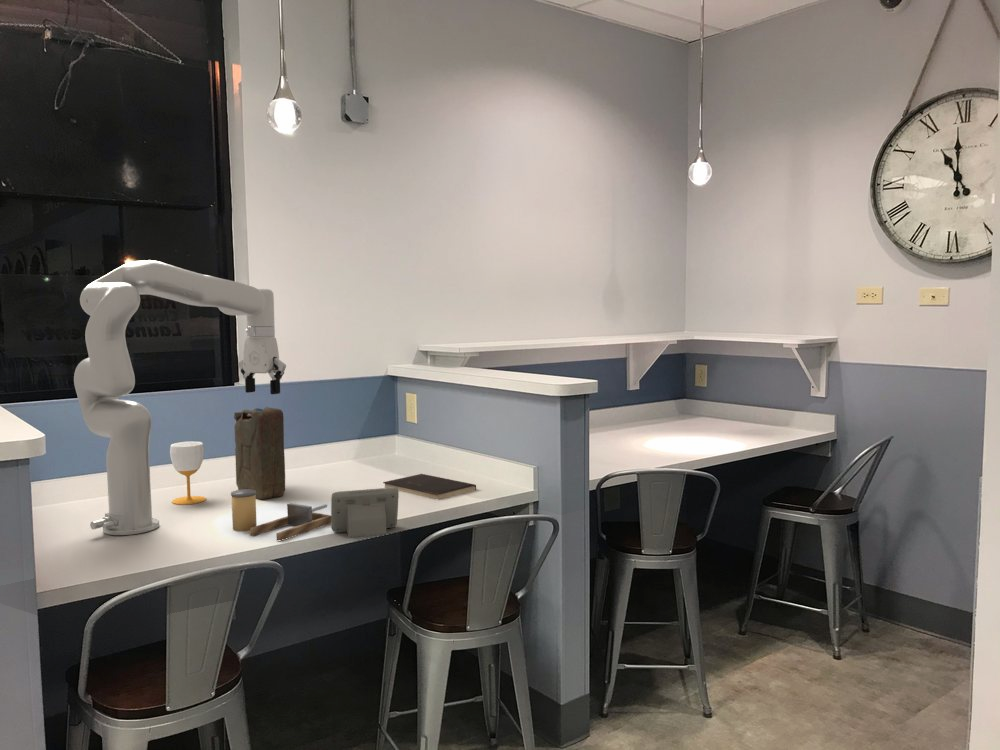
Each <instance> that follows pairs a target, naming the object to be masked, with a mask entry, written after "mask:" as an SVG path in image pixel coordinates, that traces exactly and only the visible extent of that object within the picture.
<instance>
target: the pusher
mask: <svg viewBox="0 0 1000 750" xmlns="http://www.w3.org/2000/svg"><path fill="white" fill-rule="evenodd" d="M286 506H287V507H286V509H287V512H286V513H287V516H288V525H290V526H291V525H292V526H299V525H302V524H305V523H308V522H311V521H312V512H313V513H316V512H317V511H321V510H324V509H326V508H328V504H327V503H326V504H322V505H318V506H316V507H313V506H311V505H304V504H300V503H299V504H298V503H292V502H290V503H287V505H286Z"/></svg>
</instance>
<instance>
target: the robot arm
mask: <svg viewBox="0 0 1000 750" xmlns="http://www.w3.org/2000/svg"><path fill="white" fill-rule="evenodd" d="M141 295H143V296H144V295H150V296H153V297H154V296H155V297H159V298H163V299H166V300H171V301H174V302H179V303H181V304H185V305H189V306H196V307H205V308H206V307H211V308H212V307H213V308H218V309H219V311H220V312H222V313H223V314H225V315H228V316H246V329H245V332H246V337H245V338H244V344H243V355H242V356H243V357H242V360H241V361H240V362H238V366H239V369H240V373H241V374H242V377H243V379H244V384H245V386H244V388H245V389H244V390H245V393H254V392H256V379H255V377H254V376H255V375H256V374H268V375H269V377H270V381H269V385H270V391H269V392H270V395H277V394H278V395H279V394H281V380H282V378H283V375H284V374H285V370H286V368H287V364H286V363H284V362H283V361H282V360H280V354H279V345H278V341H277V337H276V334H275V333H276V327H275V298H274V297H275V296H274V292H273V290H272V289H269V288H268V289H267V288H256V287H255V286H251V285H248V284H245V283H242V282H238V281H235V280H230V279H226V278H220V277H216V276H213V275H208V274H202V273H200V272H199V273H198V272H196V271H192V270H188V269H184V268H182V267H178V266H175V265H172V264H168V263H165V262H162V261H158V260H151V259H148V260H135V261H129V262H126V263H125V264H122V265H121V266H119V267H117V268H115V269H113V270H112V271H110V272H108V273H107V274H105V275H103V276H101V277H100V278H98V279H95V280H94V281H92V282H91V283H89V284H87V285H86V286H85V287H84V288H83V289H82V291H81V293H80V297H79V304H80V306H81V309H82V310H83V312H85V313H86V314H87V315H88V316H89V319H88V321H87V324H86V327H85V334H84V336H85V345H86V349H87V354H88V357H87V358H84V359H82V360H81V361H80V362H79V363H78V364H77V366H76V367H75V371H74V373H73V375H74V376H73V383H74V384H73V385H74V388H75V393H76V395H77V400H78V403H79V407H80V410H81V413H82V414H81V415H82V417H83V418H82V419H83V421H84V423H85V425H86V427H87V428H88V429H89V431H90V432H91V433H93V434H94V435H96V436H99V437H102V438H103V437H104V438H110V440H109V443H108V447H107V450H106V455H105V456H106V457H105V459H106V462H105V463H106V475H107V476H106V477H107V479H106V480H107V495H108V496H107V498H108V512H106V513H104V517H103V518H102V519H96V520H93V521H91V522H90V524H89V526H90V528H91V530H93V531H94V530H97V529H101V528H102V532H103V533H104V534H106V535H109V536H110V535H112V536H129V535H137V534H143V533H148V532H151V531H153V530H155V529H157V528H158V527H159V526H160V520H158V519H157V518H155V517H153V509H152V488H151V487H152V486H151V469H150V468H151V466H150V438H151V431H152V423H153V421H152V415H151V413H150V411H149V410H148V409H147V407H146V406H144V405H143V404H141V403H140V402H137V401H134V400H129V399H128V400H127V399H119V398H120V397H124V396H127V395H128V394H130V393H131V392H132V391H133V390H134V388H135V386H136V385H135V384H136V378H135V377H136V376H135V373H134V368H133V366H132V365H133V364H132V361H131V357H130V353H129V350H128V346H127V341H126V330H127V326H128V325H129V322H130V320H131V319H132V317H133V315H134V314H135V313H136V312H137V311H138V309H139V307H140V303H141Z"/></svg>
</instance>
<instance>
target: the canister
mask: <svg viewBox="0 0 1000 750" xmlns="http://www.w3.org/2000/svg"><path fill="white" fill-rule="evenodd" d="M233 415H234V417H233V418H234V420H235V423H234V442H235V444H234V445H235V449H234V452H235V456H234V457H235V484H236V487H237V490H243V489H251V490H255V491H256V494H255V495H256V500H257V499H258V500H267V499H268V500H269V499H273V498H278V497H283V496H284V494H285V491H286V460H285V459H286V458H285V438H284V437H285V431H284V426H285V424H284V422H285V421H284V420H285V419H284V413H283V411H282V409H280V408H276V407H275V408H273V407H270V406H268V407H267V406H265V407H264V408H263V409H262V408H260V407H259V408H257V407H254V409H253V410H251V409H247V408H243V409H242V410H241V411H238V412H237V411H236V412H235V411H234V412H233Z"/></svg>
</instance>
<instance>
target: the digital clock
mask: <svg viewBox="0 0 1000 750" xmlns="http://www.w3.org/2000/svg"><path fill="white" fill-rule="evenodd" d="M399 492H400V491H398V489H397V488H385V487H384V488H383V487H382V488H381V487H380V488H370V489H355V490H354V489H353V490H344V491H343V490H342V491H335V492H333V493H332V494H331V496H330V497H331V499H330V501H331V502H330V503H331V506H330V507H331V508H330V509H331V511H330V515H331V523H330V528H331V531H332V532H334V533H346V534H347V536H348V538H358V537H370V536H371V537H373V536H381V535H382V536H383V535H386V534H387V529H391V528H395V527H396V526H397V524H398V516H399V513H398V511H399V497H400V495H399Z"/></svg>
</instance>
